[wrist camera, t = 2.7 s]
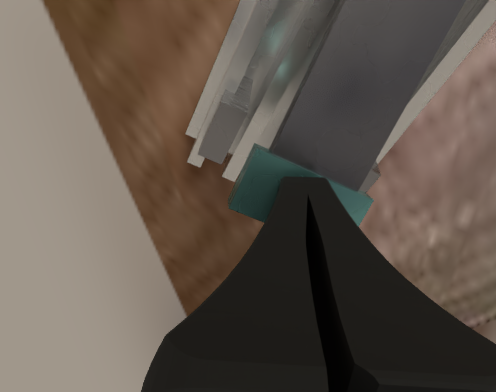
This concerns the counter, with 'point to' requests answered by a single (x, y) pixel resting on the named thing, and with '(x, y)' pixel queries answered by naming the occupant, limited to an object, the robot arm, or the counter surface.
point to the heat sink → (296, 76)
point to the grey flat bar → (348, 101)
